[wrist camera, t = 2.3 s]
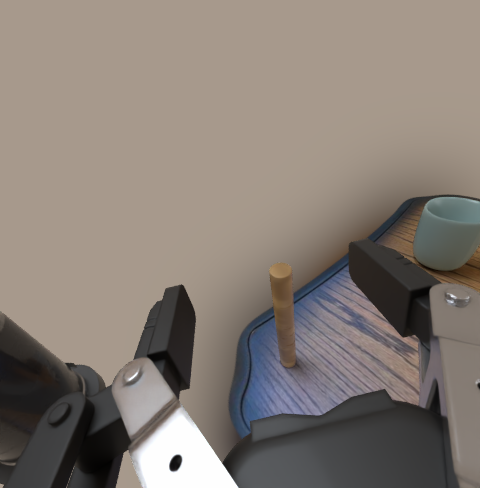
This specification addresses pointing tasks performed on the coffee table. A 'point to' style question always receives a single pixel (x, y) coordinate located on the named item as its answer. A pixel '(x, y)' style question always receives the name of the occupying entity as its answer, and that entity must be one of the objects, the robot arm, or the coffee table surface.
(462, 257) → the cup
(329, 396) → the coffee table surface
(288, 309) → the stick
